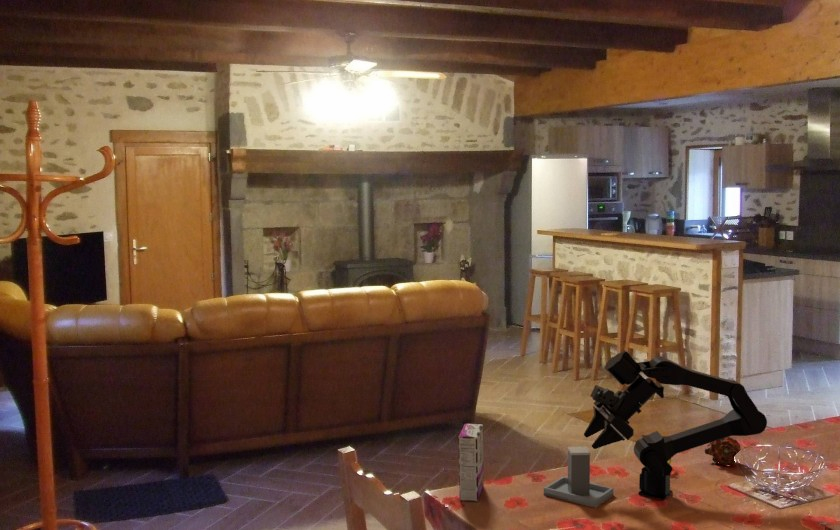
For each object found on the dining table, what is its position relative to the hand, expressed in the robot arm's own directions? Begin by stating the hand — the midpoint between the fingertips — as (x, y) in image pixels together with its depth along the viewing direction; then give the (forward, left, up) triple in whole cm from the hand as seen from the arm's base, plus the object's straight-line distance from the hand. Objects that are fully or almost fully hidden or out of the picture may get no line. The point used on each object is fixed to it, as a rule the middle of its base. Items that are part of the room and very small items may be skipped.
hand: (588, 441), depth 200 cm
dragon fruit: (-19, -43, -14) cm, 49 cm away
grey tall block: (+2, +2, -13) cm, 13 cm away
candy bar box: (+24, +17, -14) cm, 32 cm away
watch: (-7, -28, -14) cm, 32 cm away
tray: (+2, +2, -14) cm, 14 cm away
